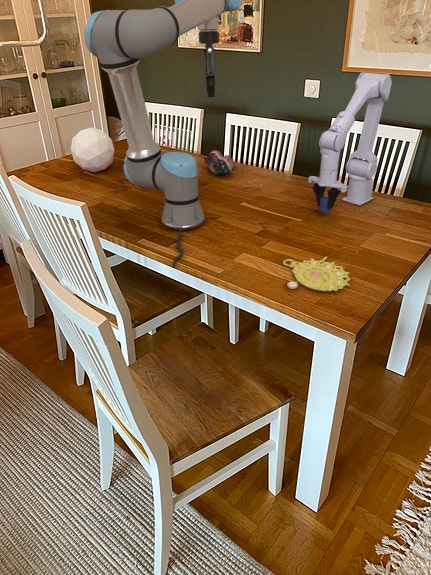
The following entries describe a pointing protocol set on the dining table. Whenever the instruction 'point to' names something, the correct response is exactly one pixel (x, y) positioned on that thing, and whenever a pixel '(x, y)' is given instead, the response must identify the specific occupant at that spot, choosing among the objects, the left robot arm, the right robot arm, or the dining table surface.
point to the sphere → (92, 149)
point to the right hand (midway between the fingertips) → (324, 206)
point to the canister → (324, 205)
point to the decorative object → (318, 275)
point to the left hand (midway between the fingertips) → (210, 94)
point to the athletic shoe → (219, 163)
